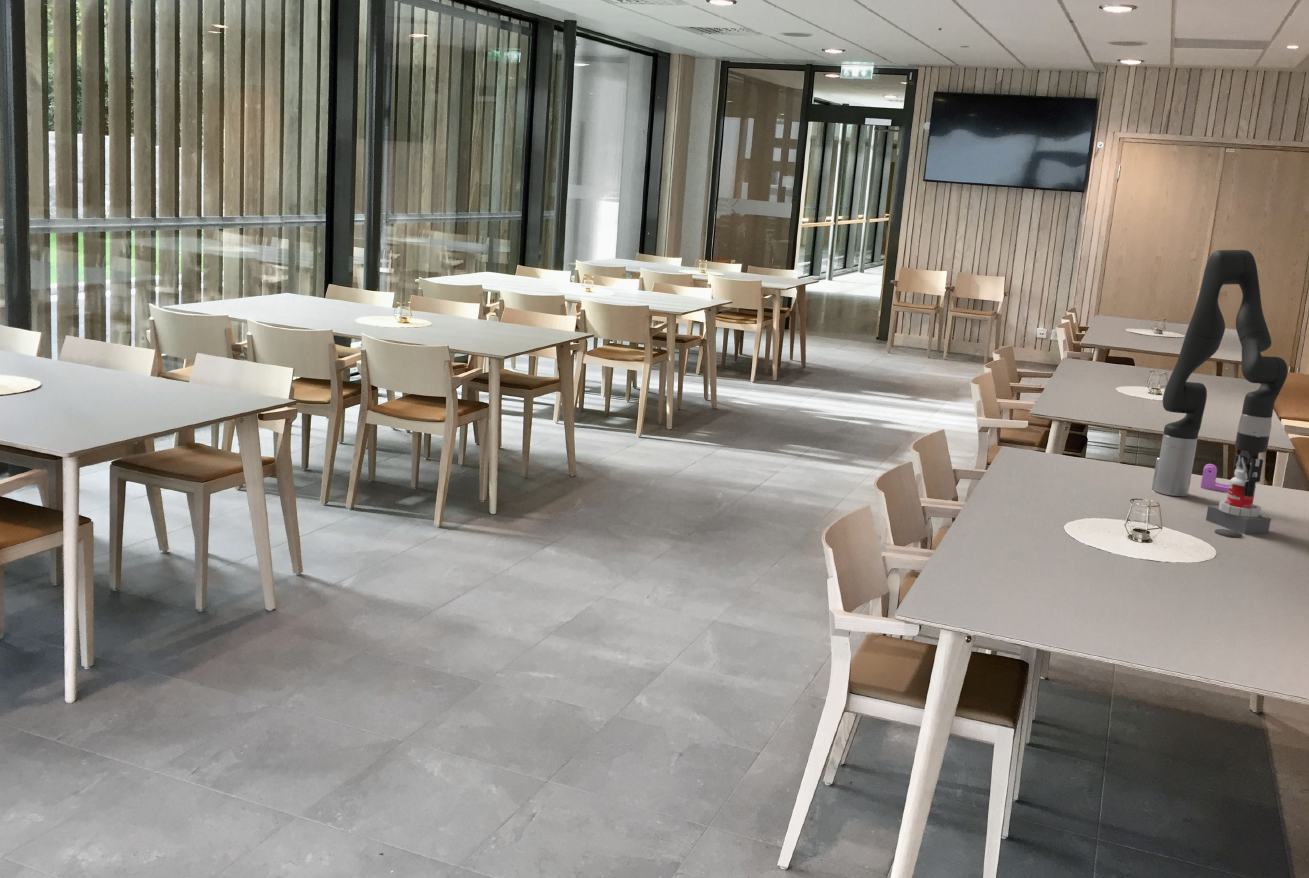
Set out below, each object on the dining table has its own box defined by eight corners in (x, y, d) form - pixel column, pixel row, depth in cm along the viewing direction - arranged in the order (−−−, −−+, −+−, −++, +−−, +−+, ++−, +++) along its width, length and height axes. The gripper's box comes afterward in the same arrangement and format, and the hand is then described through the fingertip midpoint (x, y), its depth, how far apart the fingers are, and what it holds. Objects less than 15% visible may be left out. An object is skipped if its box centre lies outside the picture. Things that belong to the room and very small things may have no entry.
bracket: (1200, 488, 344) (1204, 466, 343) (1200, 484, 349) (1204, 462, 348) (1247, 495, 339) (1251, 473, 337) (1247, 492, 343) (1251, 469, 342)
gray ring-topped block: (1203, 520, 304) (1207, 498, 303) (1231, 519, 307) (1234, 497, 306) (1242, 534, 292) (1246, 511, 291) (1270, 532, 295) (1274, 510, 294)
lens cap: (1208, 532, 293) (1209, 529, 293) (1227, 531, 295) (1228, 528, 295) (1228, 539, 287) (1228, 536, 287) (1247, 538, 289) (1248, 535, 289)
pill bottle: (1220, 508, 301) (1227, 467, 299) (1240, 508, 302) (1247, 468, 300) (1235, 514, 295) (1242, 473, 293) (1256, 515, 296) (1263, 474, 294)
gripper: (1230, 425, 302) (1219, 484, 305) (1246, 435, 288) (1235, 497, 291) (1260, 428, 300) (1249, 487, 304) (1278, 438, 287) (1267, 500, 290)
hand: (1242, 492), depth 298 cm, fingers open, 8 cm apart
